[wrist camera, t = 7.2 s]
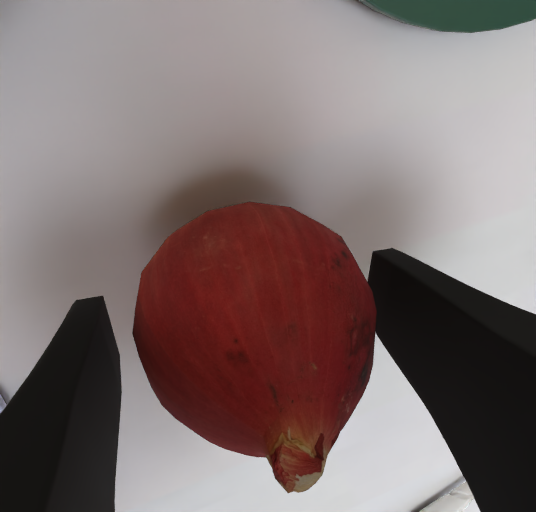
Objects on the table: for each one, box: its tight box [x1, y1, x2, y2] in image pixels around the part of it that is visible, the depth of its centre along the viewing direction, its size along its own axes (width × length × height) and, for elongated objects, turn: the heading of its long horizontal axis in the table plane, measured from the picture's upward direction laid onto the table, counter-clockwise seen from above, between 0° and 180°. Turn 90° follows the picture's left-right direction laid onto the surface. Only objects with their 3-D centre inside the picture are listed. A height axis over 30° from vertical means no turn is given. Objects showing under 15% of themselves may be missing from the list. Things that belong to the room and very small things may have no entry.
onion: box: [133, 202, 377, 493], centre depth 10 cm, size 6×6×8 cm
